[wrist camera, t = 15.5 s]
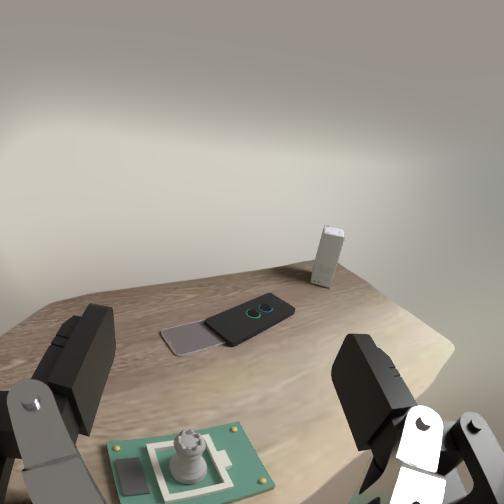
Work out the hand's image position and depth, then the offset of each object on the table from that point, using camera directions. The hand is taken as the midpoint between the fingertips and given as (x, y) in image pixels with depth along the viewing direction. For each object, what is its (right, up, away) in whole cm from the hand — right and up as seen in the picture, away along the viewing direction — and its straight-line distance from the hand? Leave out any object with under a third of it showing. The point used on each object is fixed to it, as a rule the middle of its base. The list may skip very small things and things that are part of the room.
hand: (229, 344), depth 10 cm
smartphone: (-8, -13, +45) cm, 48 cm away
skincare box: (+20, -5, +76) cm, 79 cm away
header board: (-7, -23, +19) cm, 31 cm away
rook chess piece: (-7, -23, +19) cm, 30 cm away
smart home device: (+1, -11, +53) cm, 54 cm away
